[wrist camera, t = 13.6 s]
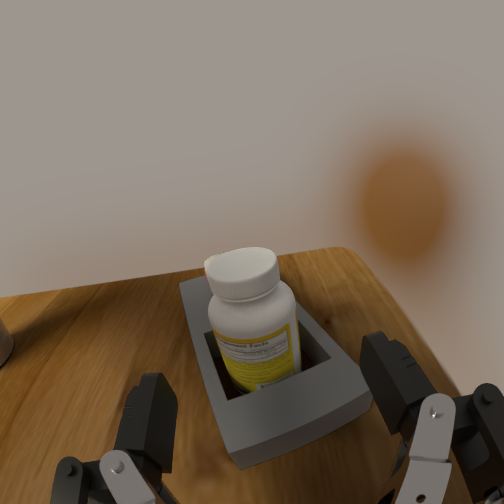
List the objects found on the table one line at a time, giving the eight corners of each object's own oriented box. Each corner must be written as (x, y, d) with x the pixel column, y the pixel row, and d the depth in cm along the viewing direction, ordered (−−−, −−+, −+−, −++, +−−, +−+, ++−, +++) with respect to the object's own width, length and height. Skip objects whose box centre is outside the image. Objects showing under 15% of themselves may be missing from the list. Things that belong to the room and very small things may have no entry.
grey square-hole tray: (239, 469, 12) (212, 428, 10) (186, 305, 30) (170, 258, 27) (369, 410, 14) (385, 351, 12) (260, 282, 32) (252, 234, 29)
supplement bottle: (254, 343, 23) (231, 238, 19) (312, 359, 20) (306, 244, 16) (217, 387, 19) (175, 278, 15) (282, 412, 16) (261, 296, 12)
